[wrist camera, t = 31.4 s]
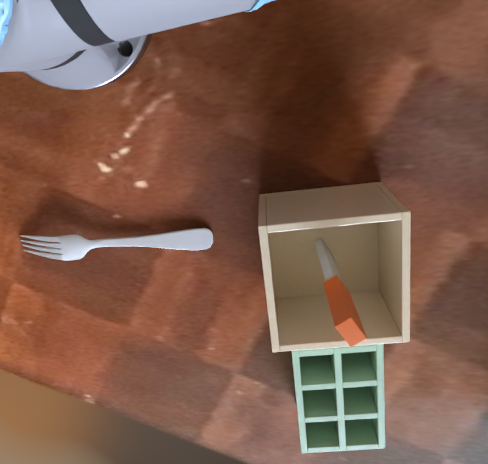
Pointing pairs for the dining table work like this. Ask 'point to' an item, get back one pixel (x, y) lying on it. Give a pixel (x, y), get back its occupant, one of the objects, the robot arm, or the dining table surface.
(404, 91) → the dining table surface
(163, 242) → the fork
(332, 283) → the knife
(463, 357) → the dining table surface
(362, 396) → the green compartment organizer
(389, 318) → the beige square open box
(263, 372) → the dining table surface
